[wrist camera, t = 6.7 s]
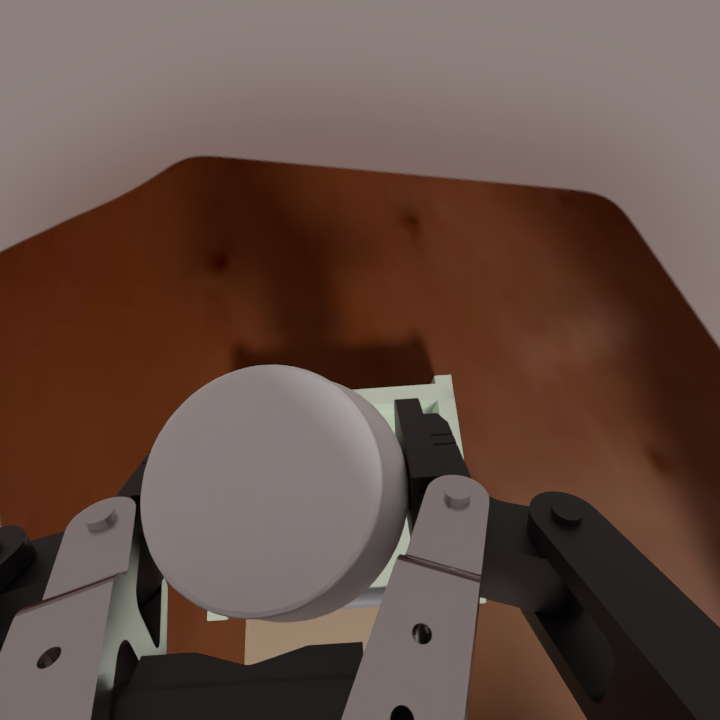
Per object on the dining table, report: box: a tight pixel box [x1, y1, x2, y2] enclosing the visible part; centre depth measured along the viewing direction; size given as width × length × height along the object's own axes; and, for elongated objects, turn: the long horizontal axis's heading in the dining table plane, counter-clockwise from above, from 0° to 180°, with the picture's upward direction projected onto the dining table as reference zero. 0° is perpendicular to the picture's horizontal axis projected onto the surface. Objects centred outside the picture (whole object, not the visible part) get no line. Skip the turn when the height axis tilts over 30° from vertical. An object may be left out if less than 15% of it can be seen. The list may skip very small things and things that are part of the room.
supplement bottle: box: [140, 365, 409, 623], centre depth 11 cm, size 5×5×10 cm
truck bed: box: [207, 375, 486, 665], centre depth 22 cm, size 14×17×4 cm
